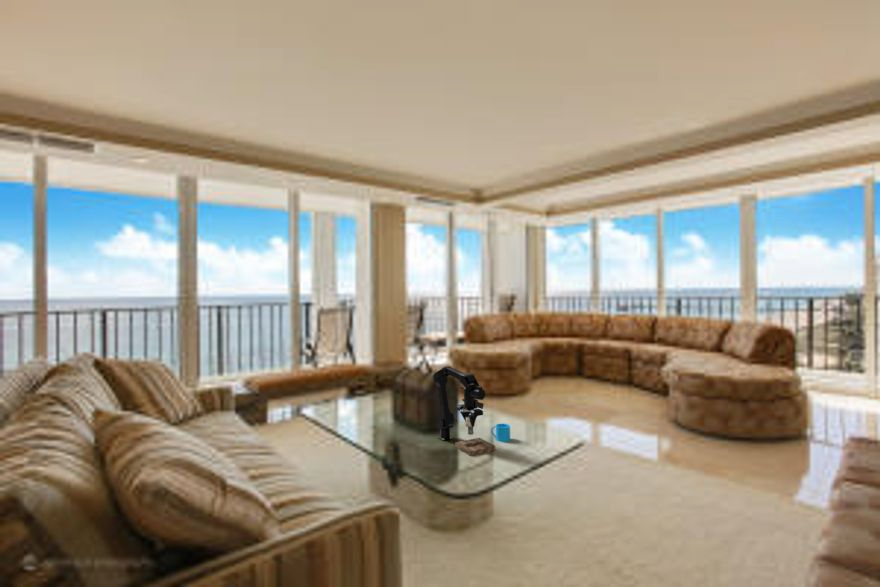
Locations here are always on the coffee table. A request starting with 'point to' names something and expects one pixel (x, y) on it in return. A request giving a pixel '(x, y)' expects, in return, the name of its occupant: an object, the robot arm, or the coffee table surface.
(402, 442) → the coffee table surface
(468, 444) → the keyhole board
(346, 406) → the coffee table surface
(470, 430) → the peg
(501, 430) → the mug
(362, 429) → the coffee table surface
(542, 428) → the coffee table surface
